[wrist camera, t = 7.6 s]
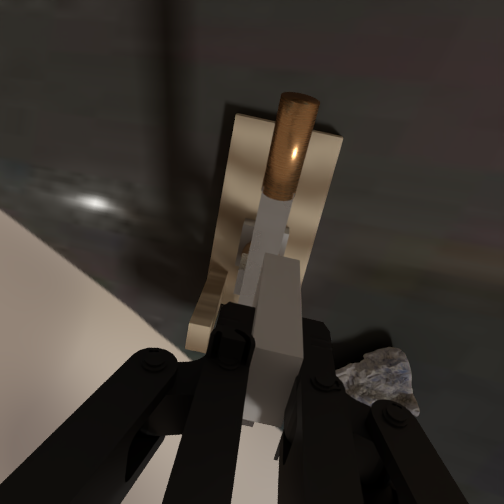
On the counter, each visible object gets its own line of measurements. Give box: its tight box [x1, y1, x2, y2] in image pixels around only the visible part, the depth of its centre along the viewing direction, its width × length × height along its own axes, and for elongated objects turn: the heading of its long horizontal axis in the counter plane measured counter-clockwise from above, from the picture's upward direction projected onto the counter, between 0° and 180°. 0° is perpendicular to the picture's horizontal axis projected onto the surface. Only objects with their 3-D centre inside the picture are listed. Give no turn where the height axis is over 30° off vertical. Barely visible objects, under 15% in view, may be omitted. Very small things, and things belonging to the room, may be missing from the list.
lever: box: [234, 92, 320, 427], centre depth 36 cm, size 32×6×8 cm, turn 169°
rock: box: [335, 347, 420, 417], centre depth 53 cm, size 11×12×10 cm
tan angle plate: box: [185, 113, 343, 353], centre depth 41 cm, size 22×11×13 cm, turn 169°
